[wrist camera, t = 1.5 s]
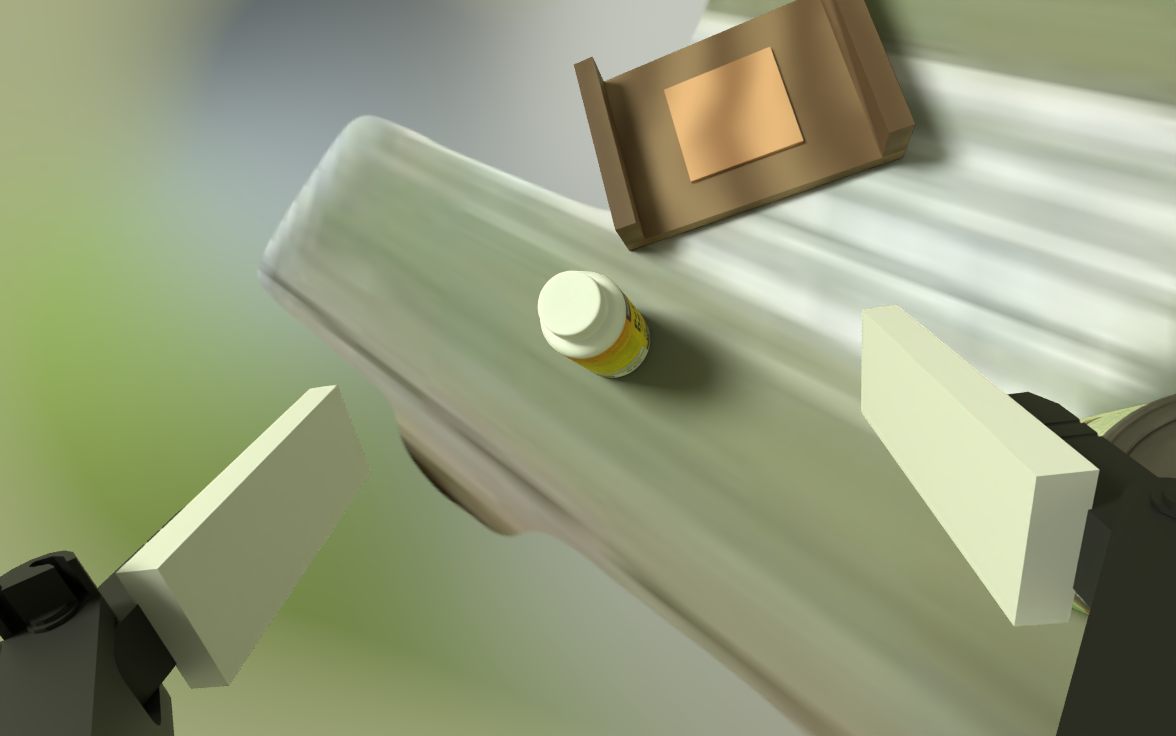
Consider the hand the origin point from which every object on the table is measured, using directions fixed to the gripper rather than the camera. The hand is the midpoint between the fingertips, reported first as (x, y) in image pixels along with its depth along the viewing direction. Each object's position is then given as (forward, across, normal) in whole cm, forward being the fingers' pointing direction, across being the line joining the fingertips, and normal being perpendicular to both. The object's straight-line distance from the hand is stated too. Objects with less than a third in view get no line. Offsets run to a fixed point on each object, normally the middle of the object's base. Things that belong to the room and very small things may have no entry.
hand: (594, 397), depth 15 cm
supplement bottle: (+28, -2, -10) cm, 30 cm away
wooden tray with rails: (+36, +9, +3) cm, 37 cm away
